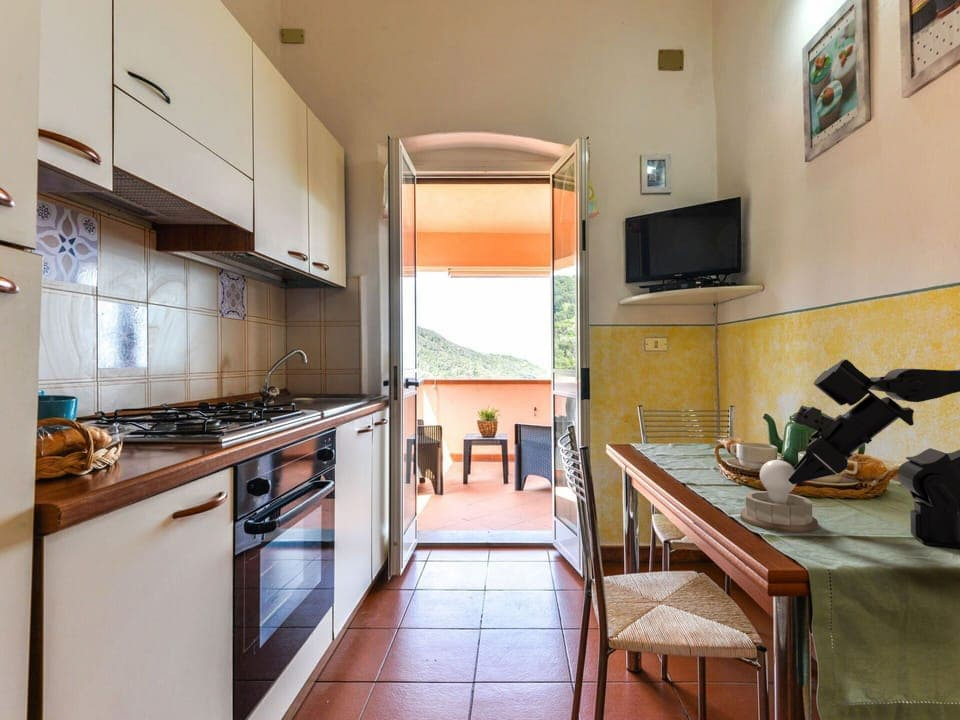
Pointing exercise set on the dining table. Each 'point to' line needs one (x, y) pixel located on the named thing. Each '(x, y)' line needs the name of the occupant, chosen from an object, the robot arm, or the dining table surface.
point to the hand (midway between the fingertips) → (792, 477)
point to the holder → (779, 513)
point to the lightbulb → (777, 480)
